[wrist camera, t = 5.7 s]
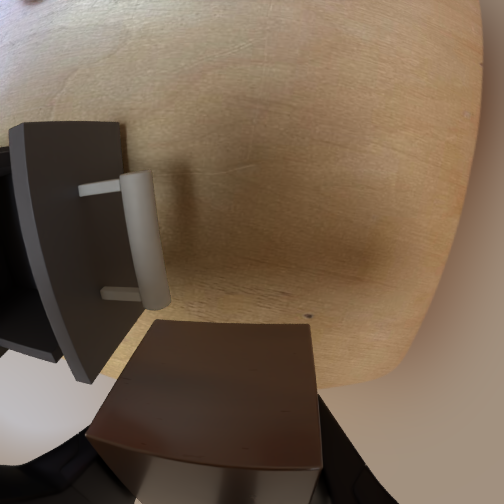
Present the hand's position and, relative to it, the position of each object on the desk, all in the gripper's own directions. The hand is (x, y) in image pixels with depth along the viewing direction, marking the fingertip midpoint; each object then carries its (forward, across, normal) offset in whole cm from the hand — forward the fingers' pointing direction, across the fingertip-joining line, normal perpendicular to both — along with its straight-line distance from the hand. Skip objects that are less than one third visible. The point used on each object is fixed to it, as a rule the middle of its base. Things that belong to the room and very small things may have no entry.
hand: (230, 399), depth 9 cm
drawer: (+11, +14, -3) cm, 19 cm away
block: (+1, 0, 0) cm, 1 cm away
